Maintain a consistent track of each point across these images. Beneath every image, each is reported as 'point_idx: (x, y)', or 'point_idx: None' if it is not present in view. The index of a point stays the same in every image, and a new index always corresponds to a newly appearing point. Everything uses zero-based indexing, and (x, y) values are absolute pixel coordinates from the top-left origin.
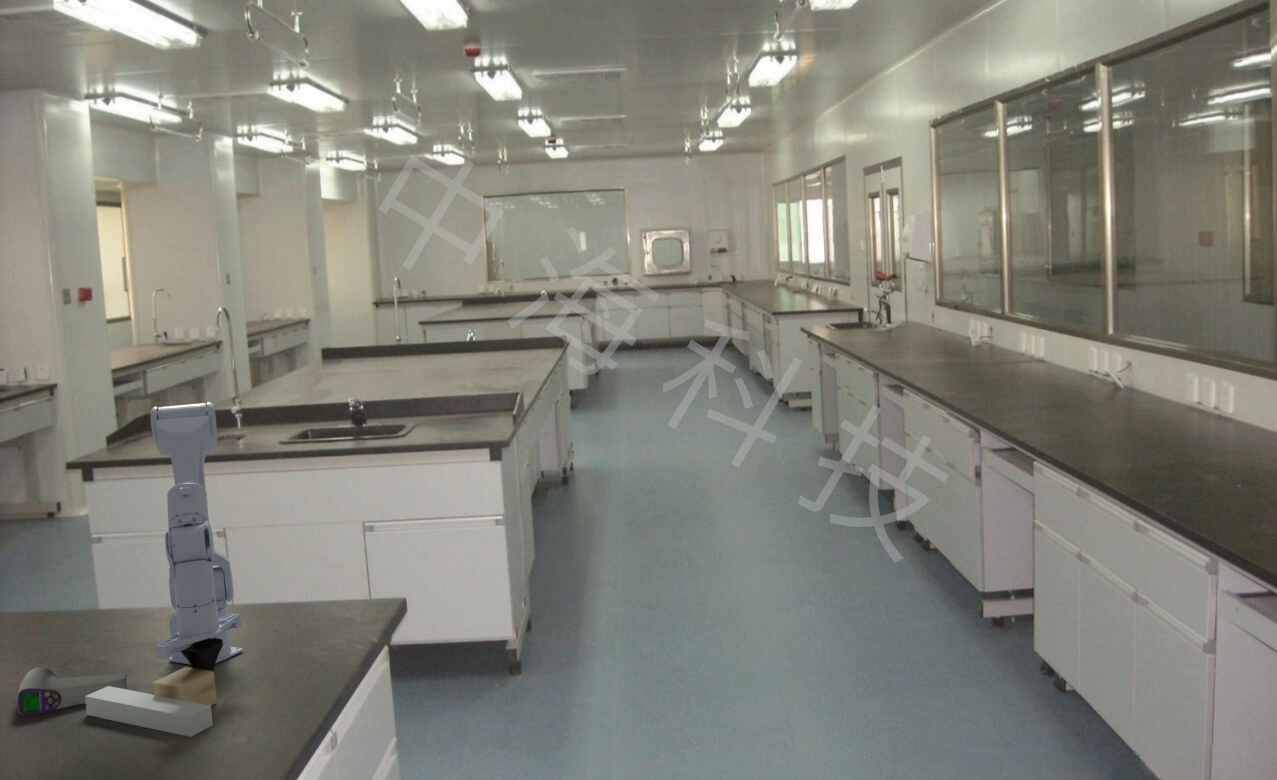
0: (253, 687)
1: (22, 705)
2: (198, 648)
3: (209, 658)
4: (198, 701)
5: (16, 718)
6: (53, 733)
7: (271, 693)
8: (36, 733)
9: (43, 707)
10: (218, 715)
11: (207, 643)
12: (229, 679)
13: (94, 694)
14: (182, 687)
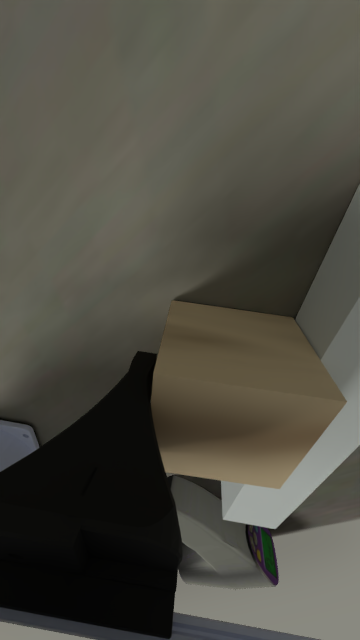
0: (41, 263)
1: (272, 551)
2: (149, 566)
3: (124, 446)
4: (246, 328)
5: (277, 532)
6: (342, 491)
7: (40, 147)
8: (337, 505)
9: (258, 530)
10: (261, 229)
11: (69, 567)
12: (43, 359)
13: (265, 522)
14: (340, 399)
